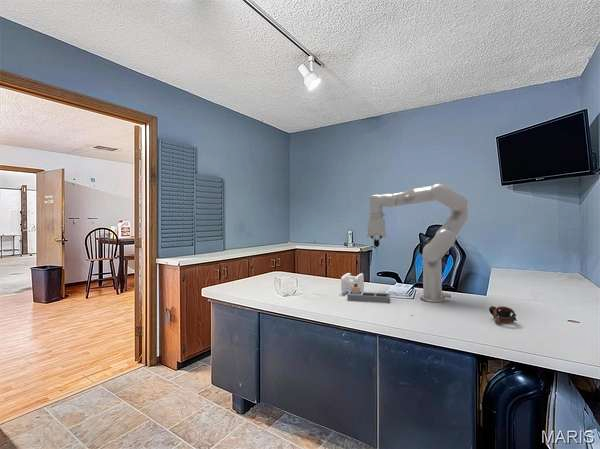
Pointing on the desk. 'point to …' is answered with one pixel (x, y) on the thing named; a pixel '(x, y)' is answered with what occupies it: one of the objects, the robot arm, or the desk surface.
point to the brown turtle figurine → (502, 314)
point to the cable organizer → (351, 282)
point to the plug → (355, 289)
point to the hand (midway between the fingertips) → (376, 246)
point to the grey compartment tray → (369, 297)
